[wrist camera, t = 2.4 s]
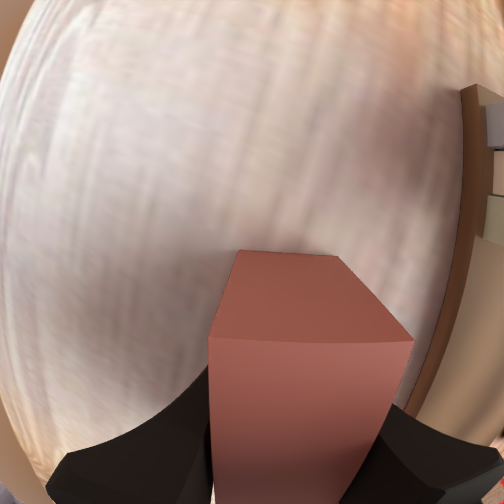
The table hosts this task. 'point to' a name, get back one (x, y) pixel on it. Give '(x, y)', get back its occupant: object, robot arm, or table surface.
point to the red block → (298, 378)
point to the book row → (496, 175)
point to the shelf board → (469, 306)
